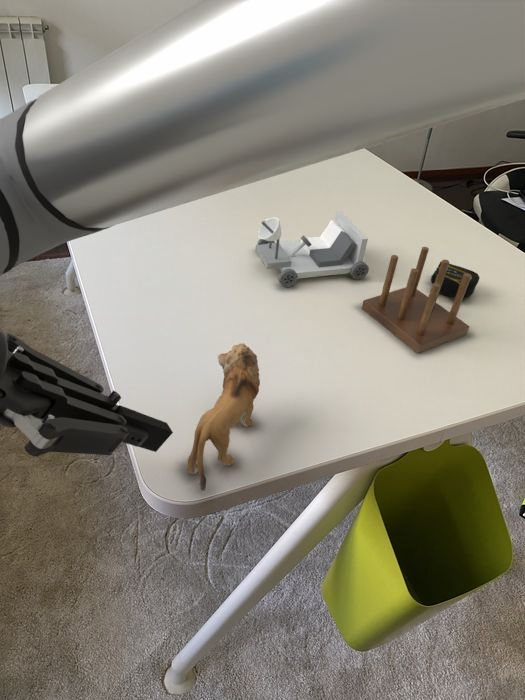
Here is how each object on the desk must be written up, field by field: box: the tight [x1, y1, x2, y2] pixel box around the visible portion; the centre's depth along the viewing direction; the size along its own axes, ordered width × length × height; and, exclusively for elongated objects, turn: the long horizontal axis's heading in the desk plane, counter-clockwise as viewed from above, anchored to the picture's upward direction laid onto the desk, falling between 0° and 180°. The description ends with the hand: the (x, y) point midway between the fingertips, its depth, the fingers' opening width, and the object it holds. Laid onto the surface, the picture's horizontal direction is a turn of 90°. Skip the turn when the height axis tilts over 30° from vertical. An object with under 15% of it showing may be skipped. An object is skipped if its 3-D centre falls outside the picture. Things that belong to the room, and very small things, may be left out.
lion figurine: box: [186, 343, 261, 492], centre depth 58 cm, size 15×5×9 cm, turn 167°
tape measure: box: [430, 260, 480, 300], centre depth 88 cm, size 7×7×4 cm
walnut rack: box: [361, 246, 471, 354], centre depth 79 cm, size 12×10×10 cm
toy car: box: [255, 210, 370, 288], centre depth 88 cm, size 18×10×12 cm
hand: (161, 437), depth 55 cm, fingers closed
